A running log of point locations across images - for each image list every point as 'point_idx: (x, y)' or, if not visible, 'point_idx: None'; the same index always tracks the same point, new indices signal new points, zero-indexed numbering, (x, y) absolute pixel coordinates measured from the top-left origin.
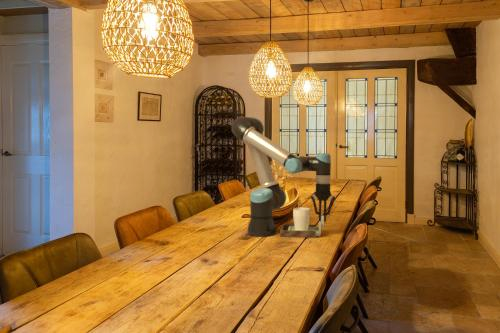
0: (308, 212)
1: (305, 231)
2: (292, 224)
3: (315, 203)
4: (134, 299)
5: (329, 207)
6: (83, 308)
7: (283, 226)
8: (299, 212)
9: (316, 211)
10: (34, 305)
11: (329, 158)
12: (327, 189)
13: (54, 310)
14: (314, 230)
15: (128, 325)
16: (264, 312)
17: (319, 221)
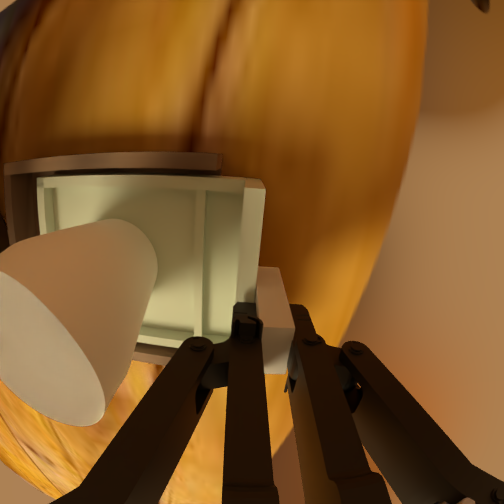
0: (112, 397)
1: (148, 360)
2: (46, 168)
3: (162, 489)
4: (63, 495)
5: (369, 442)
6: (48, 491)
7: (15, 241)
8: (49, 398)
9: (195, 401)
10: (20, 475)
11: None
12: None
13: (37, 486)
14: (207, 235)
15: None
16: None
17: (242, 289)
